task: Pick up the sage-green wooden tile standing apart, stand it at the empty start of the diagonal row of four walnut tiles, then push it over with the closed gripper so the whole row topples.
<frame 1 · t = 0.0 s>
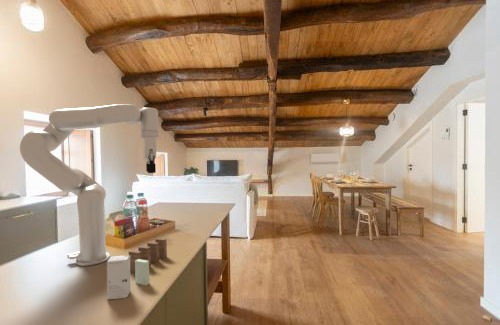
hand: (150, 172, 120), 37 cm above the kitchen island, tool pointing down, fingers open, 9 cm apart
skincare box: (119, 295, 83), on the kitchen island
sage tile: (142, 283, 90), on the kitchen island
tile3: (153, 261, 108), on the kitchen island
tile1: (135, 272, 99), on the kitchen island
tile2: (144, 266, 104), on the kitchen island
tile4: (161, 257, 113), on the kitchen island
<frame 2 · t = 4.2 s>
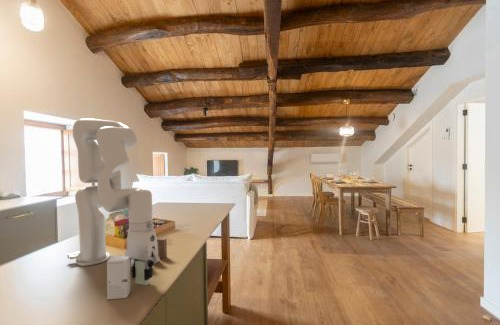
hand: (142, 277, 90), 2 cm above the kitchen island, tool pointing down, fingers closed on sage tile, 4 cm apart
sage tile: (142, 283, 90), on the kitchen island, touching gripper
everything else where it was.
when the fingers open (3 cm above the kitchen island, at t = 9.1 s): sage tile stays where it is, on the kitchen island.
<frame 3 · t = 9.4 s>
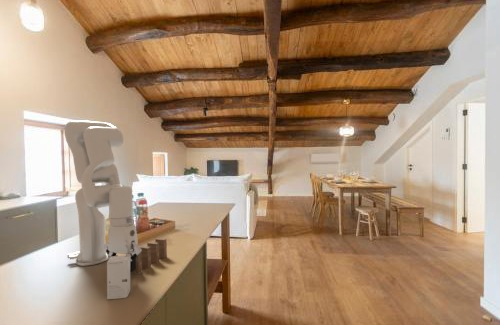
hand: (122, 269, 93), 4 cm above the kitchen island, tool pointing down, fingers open, 7 cm apart
sage tile: (122, 279, 93), on the kitchen island
everything else where it was.
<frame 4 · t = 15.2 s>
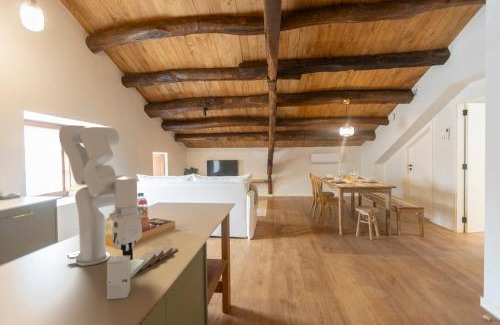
hand: (127, 259, 96), 6 cm above the kitchen island, tool pointing down, fingers closed
sage tile: (125, 275, 95), point 1 cm above the kitchen island, tilted 73°, touching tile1
tile3: (155, 258, 110), point 1 cm above the kitchen island, tilted 78°, touching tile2
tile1: (137, 268, 100), point 1 cm above the kitchen island, tilted 70°, touching sage tile, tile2
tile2: (146, 263, 105), point 1 cm above the kitchen island, tilted 71°, touching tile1, tile3
tile4: (162, 255, 114), on the kitchen island, tilted 90°
everything else where it was.
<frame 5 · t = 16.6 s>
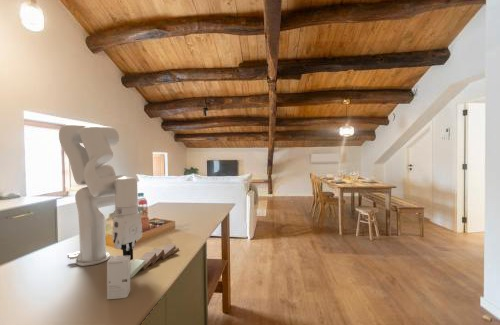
hand: (128, 259, 96), 6 cm above the kitchen island, tool pointing down, fingers closed
tile3: (159, 256, 111), point 1 cm above the kitchen island, tilted 75°, touching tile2
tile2: (147, 262, 106), point 1 cm above the kitchen island, tilted 74°, touching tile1, tile3
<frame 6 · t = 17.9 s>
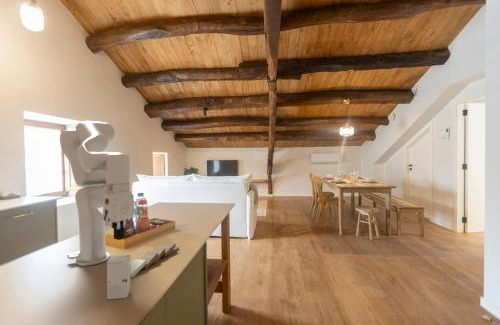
hand: (119, 238, 92), 15 cm above the kitchen island, tool pointing down, fingers closed
tile3: (160, 254, 113), point 1 cm above the kitchen island, tilted 77°, touching tile4
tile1: (140, 267, 102), point 1 cm above the kitchen island, tilted 72°, touching sage tile
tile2: (149, 261, 107), point 1 cm above the kitchen island, tilted 74°
tile4: (164, 255, 115), on the kitchen island, tilted 90°, touching tile3
everything else where it was.
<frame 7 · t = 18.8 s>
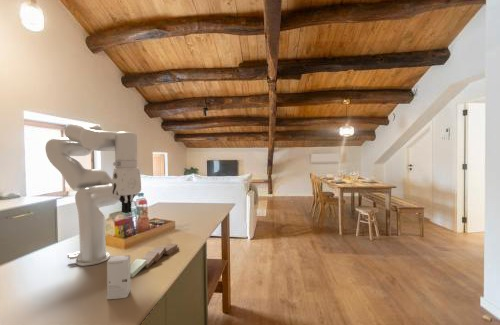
hand: (126, 212, 99), 23 cm above the kitchen island, tool pointing down, fingers closed
tile3: (162, 252, 115), point 2 cm above the kitchen island, tilted 90°, touching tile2, tile4
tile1: (142, 266, 102), point 1 cm above the kitchen island, tilted 72°, touching sage tile, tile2
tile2: (151, 260, 107), point 1 cm above the kitchen island, tilted 72°, touching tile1, tile3
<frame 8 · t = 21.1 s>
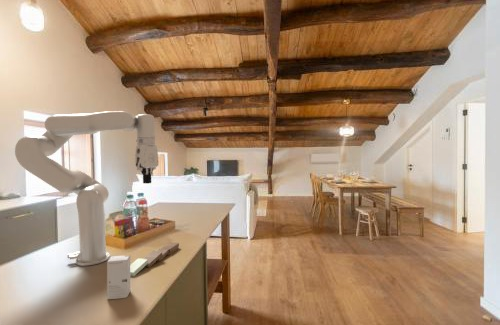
hand: (147, 183, 116), 32 cm above the kitchen island, tool pointing down, fingers closed
sage tile: (128, 273, 96), point 1 cm above the kitchen island, tilted 77°
tile3: (165, 250, 116), point 2 cm above the kitchen island, tilted 90°, touching tile4
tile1: (144, 265, 103), point 1 cm above the kitchen island, tilted 75°
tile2: (154, 259, 109), point 1 cm above the kitchen island, tilted 84°, touching tile4
tile4: (164, 254, 116), on the kitchen island, tilted 90°, touching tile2, tile3
everything else where it was.
at the end: tile4 tilted 90°; sage tile tilted 77°; sage tile inside the target area (2.2 cm from its centre), point 0.7 cm above the kitchen island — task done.
